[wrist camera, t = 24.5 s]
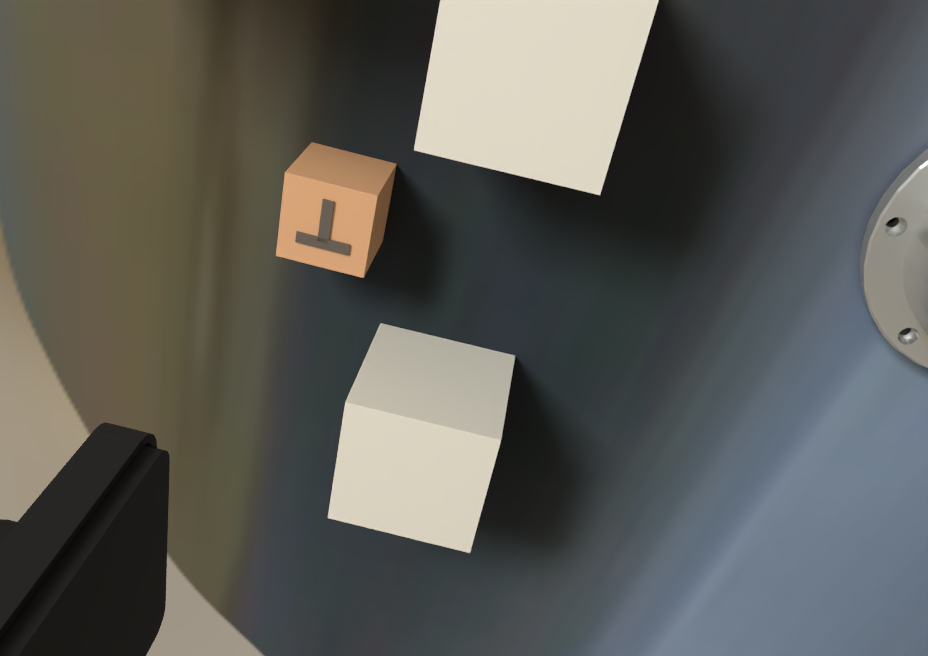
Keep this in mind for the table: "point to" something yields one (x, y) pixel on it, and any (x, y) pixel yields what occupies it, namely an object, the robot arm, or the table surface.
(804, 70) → the table surface
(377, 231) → the letter cube
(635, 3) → the large plain cream block
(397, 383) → the plain off-white cube
